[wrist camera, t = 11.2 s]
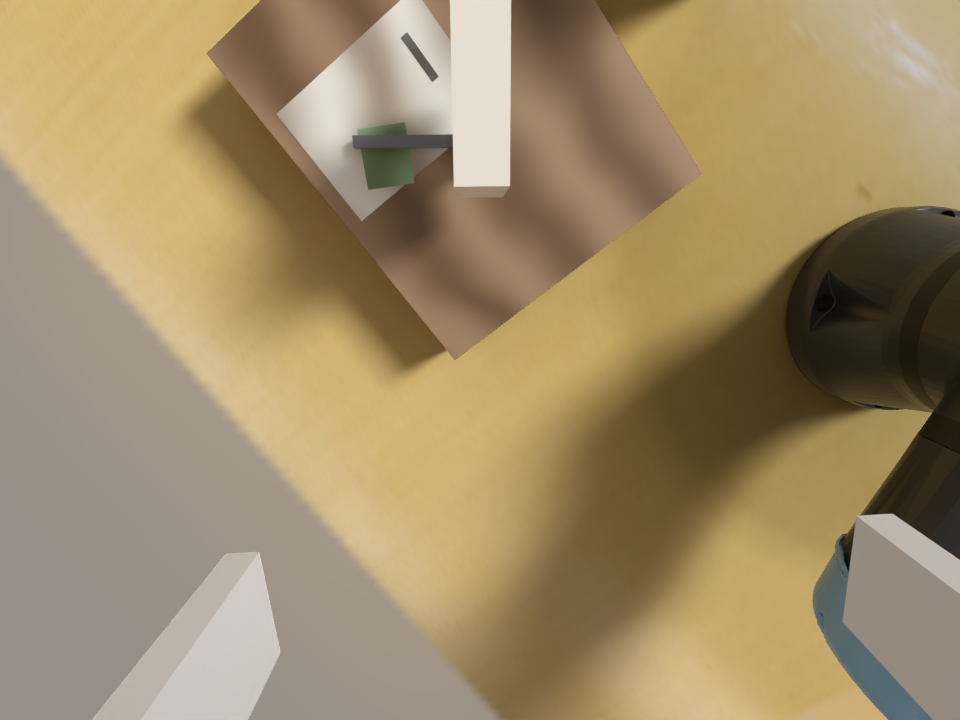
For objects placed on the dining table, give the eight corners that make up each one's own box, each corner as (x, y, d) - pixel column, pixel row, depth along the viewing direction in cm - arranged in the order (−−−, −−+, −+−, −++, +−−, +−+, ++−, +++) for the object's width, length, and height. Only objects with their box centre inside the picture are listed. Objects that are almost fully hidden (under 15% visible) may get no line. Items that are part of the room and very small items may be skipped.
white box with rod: (351, 81, 30) (281, -1, 19) (500, 79, 30) (511, -4, 19) (359, 202, 31) (299, 188, 21) (500, 201, 31) (510, 186, 21)
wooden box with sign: (471, -136, 31) (469, -204, 26) (672, 181, 36) (702, 173, 31) (245, 78, 34) (205, 53, 29) (457, 344, 39) (454, 360, 34)
